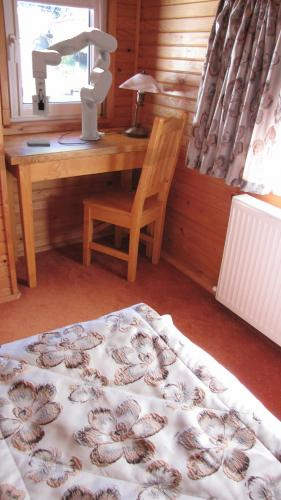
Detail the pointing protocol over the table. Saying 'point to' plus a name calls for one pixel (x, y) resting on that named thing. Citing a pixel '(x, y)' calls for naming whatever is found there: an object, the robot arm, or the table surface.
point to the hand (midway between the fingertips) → (41, 109)
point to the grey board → (38, 142)
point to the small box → (35, 106)
